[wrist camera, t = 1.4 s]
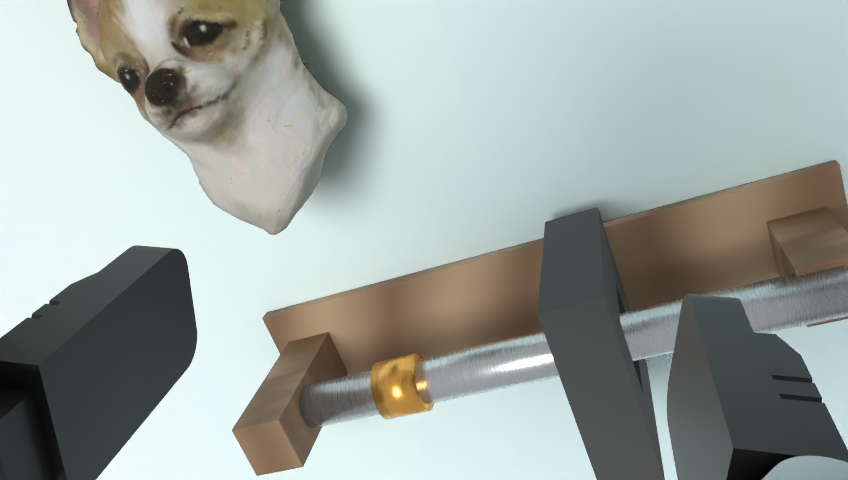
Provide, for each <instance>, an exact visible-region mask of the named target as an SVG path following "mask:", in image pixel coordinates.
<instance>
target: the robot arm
mask: <svg viewBox="0 0 848 480" xmlns="http://www.w3.org/2000/svg"><path fill="white" fill-rule="evenodd" d="M196 344H197V328H196V321H195V314H194V307H193V300H192V293H191V286H190V279H189V272H188V265H187V261H186V258H185V256H184V254H183V253H182V251H180V250H179V249H172V248H160V247H149V246H132V247H130V248H129V249H128V250H126V251H125V252H124V253H122V254H121V255H120V256H119V257H117V258H116V259H115V260H113V261H112V262H111V263H110V264H108V265H107V266H106V267H105V268H103V269H102V270H101V271H99V272H98V273H95V274H93V275H91V276H89V277H86V278H84V279H82V280H79V281H77V282H75V283H73V284H71V285H69V286H68V287H67V288H65V289H64V290H63V291H62V292H60V293H59V294H58V295H56V296H55V297H54V298H52V299H51V300H50V303H49V304H45V305H43V306H42V307H41V308H39V309H38V310H37V311H35V312H34V313H33V314H32V317H31V318H26V319H25V320H24V321H22V322H21V323H20V324H18V325H17V326H16V327H14V328H13V329H12V330H11V331H9V332H8V333H7V334H5V335H4V336H3V337H1V338H0V480H96V479H97V478H98V476H99V475H100V474H101V473H102V471H103V470H104V469H105V468H106V467H107V465H108V464H109V463H110V462H111V461H112V459H113V458H114V457H115V456H116V455H117V453H118V452H119V451H120V450H121V448H122V447H123V446H124V445H125V444H126V442H127V441H128V440H129V439H130V438H131V436H132V435H133V434H134V433H135V431H136V430H137V429H138V428H139V427H140V425H141V424H142V423H143V422H144V421H145V419H146V418H147V417H148V416H149V415H150V413H151V412H152V411H153V410H154V408H155V407H156V406H157V405H158V404H159V402H160V401H161V400H162V399H163V398H164V396H165V395H166V394H167V393H168V392H169V390H170V389H171V388H172V387H173V385H174V384H175V383H176V382H177V381H178V379H179V378H180V377H181V376H182V375H183V373H184V372H185V371H186V370H187V368H188V367H189V365H190V364H191V362H192V359H193V357H194V353H195V349H196ZM667 419H668V427H669V432H670V438H671V444H672V449H673V455H674V461H675V466H676V472H677V477H678V480H848V450H847V448H846V446H845V444H844V442H843V440H842V438H841V436H840V434H839V432H838V430H837V428H836V426H835V424H834V422H833V420H832V417H831V415H830V413H829V411H828V409H827V407H826V405H825V403H822V397H821V395H820V393H819V391H818V389H817V387H816V385H815V383H812V377H811V375H810V373H809V371H808V369H807V367H806V365H805V363H804V361H803V359H802V357H801V355H800V354H798V353H797V352H796V351H795V350H794V349H792V348H791V347H790V346H789V345H788V344H786V343H785V342H784V341H783V340H782V339H781V338H779V337H778V336H777V335H776V334H766V333H755V332H753V329H752V327H751V325H750V322H749V320H748V317H747V315H746V312H745V310H744V308H743V305H742V303H741V301H740V299H739V298H733V297H721V296H709V295H697V294H686V295H685V296H684V298H683V301H682V305H681V310H680V316H679V322H678V328H677V334H676V340H675V346H674V352H673V358H672V364H671V370H670V377H669V383H668V393H667Z"/></svg>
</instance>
